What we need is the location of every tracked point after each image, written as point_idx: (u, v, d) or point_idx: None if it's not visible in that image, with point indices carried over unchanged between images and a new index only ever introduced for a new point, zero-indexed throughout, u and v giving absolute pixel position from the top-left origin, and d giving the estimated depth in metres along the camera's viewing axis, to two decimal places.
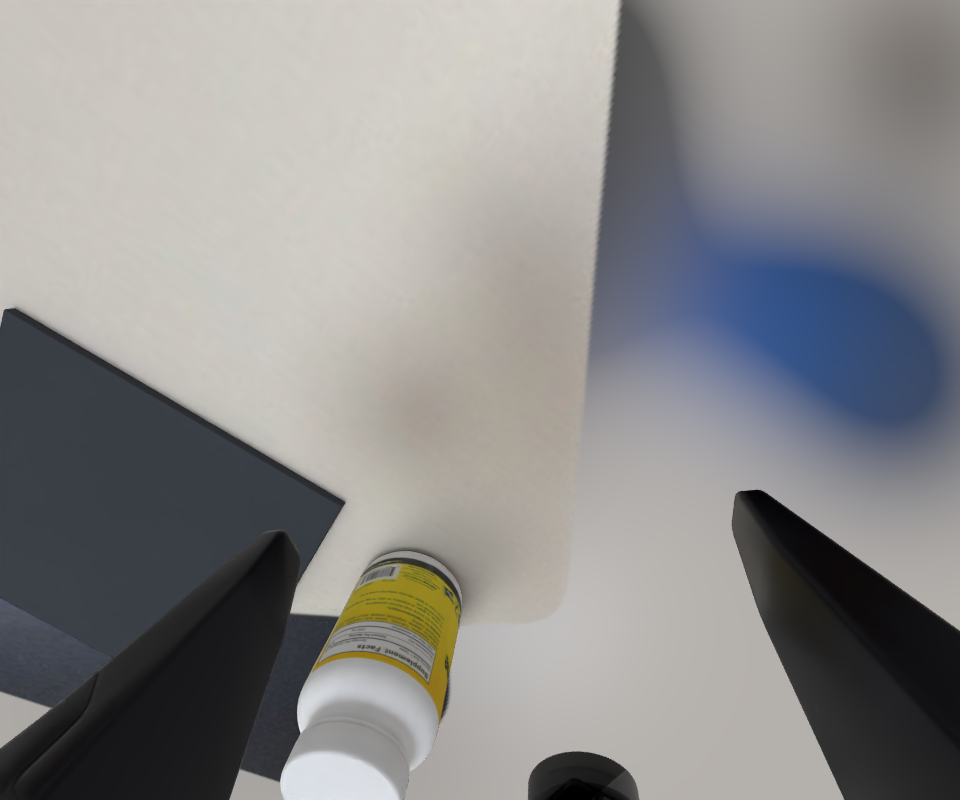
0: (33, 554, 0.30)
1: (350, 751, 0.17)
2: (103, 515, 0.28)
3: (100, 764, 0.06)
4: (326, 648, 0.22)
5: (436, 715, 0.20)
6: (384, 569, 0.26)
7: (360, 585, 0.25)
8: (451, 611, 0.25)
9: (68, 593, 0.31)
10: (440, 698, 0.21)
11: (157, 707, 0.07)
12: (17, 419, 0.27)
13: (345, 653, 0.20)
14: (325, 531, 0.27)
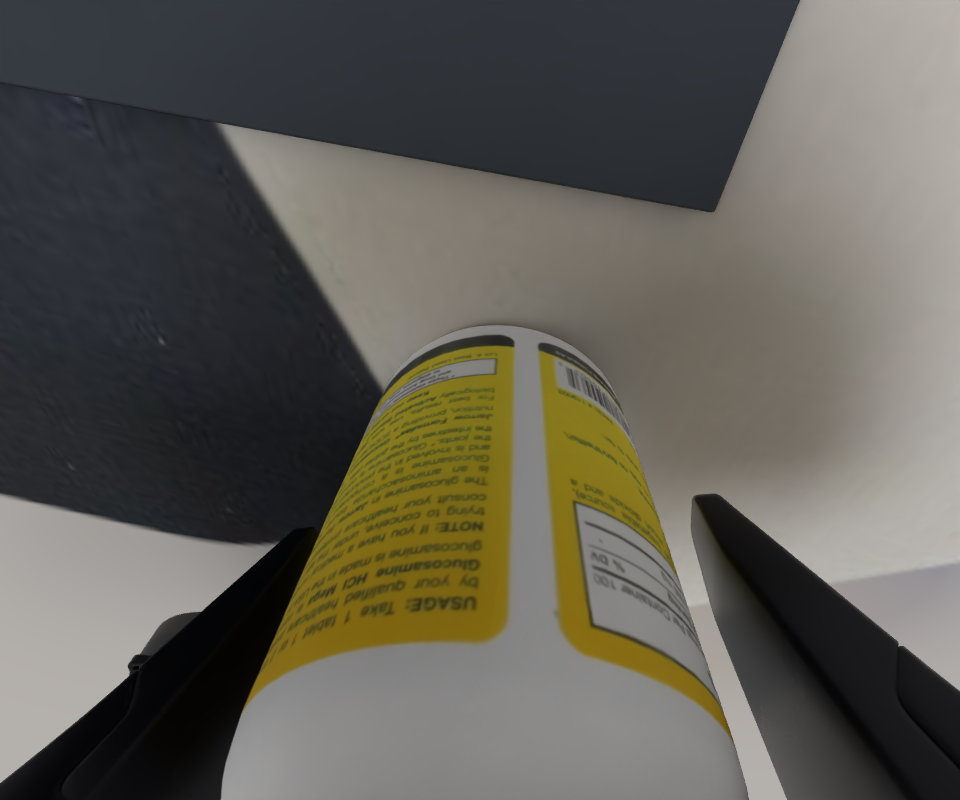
0: None
1: None
2: None
3: (146, 764, 0.06)
4: (586, 559, 0.05)
5: None
6: (615, 408, 0.10)
7: (573, 388, 0.09)
8: None
9: None
10: None
11: (197, 706, 0.07)
12: None
13: (704, 689, 0.05)
14: (612, 189, 0.09)
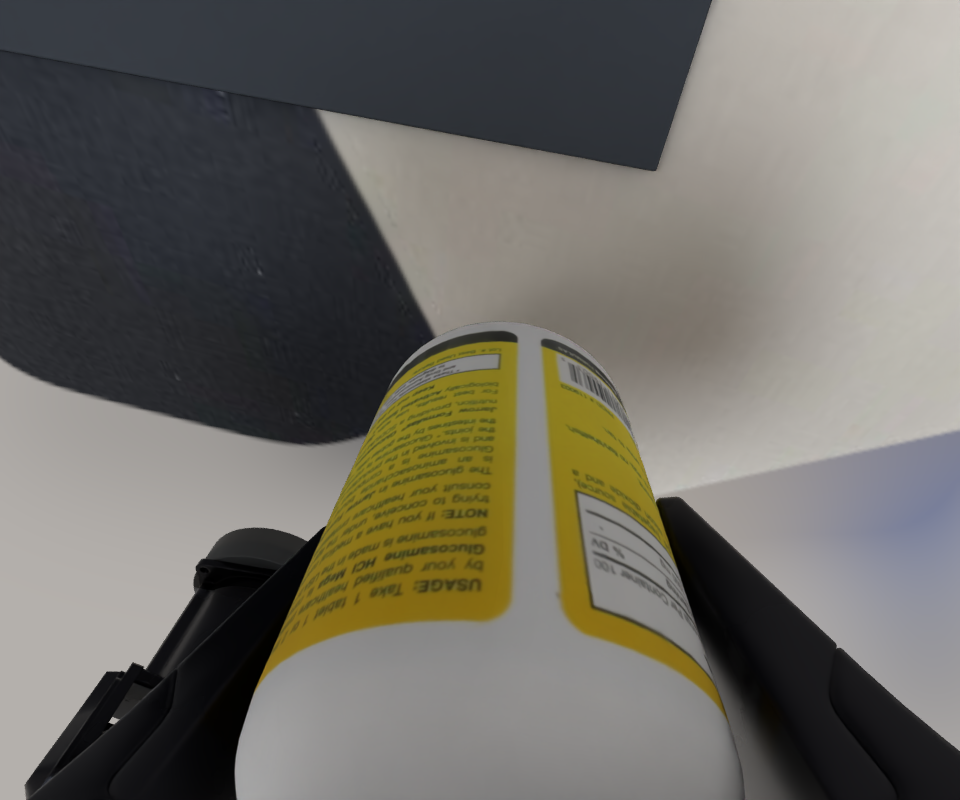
0: None
1: None
2: None
3: (191, 764, 0.06)
4: (587, 545, 0.06)
5: None
6: (617, 403, 0.10)
7: (575, 382, 0.09)
8: None
9: None
10: None
11: (237, 706, 0.07)
12: None
13: (700, 669, 0.05)
14: (586, 154, 0.13)
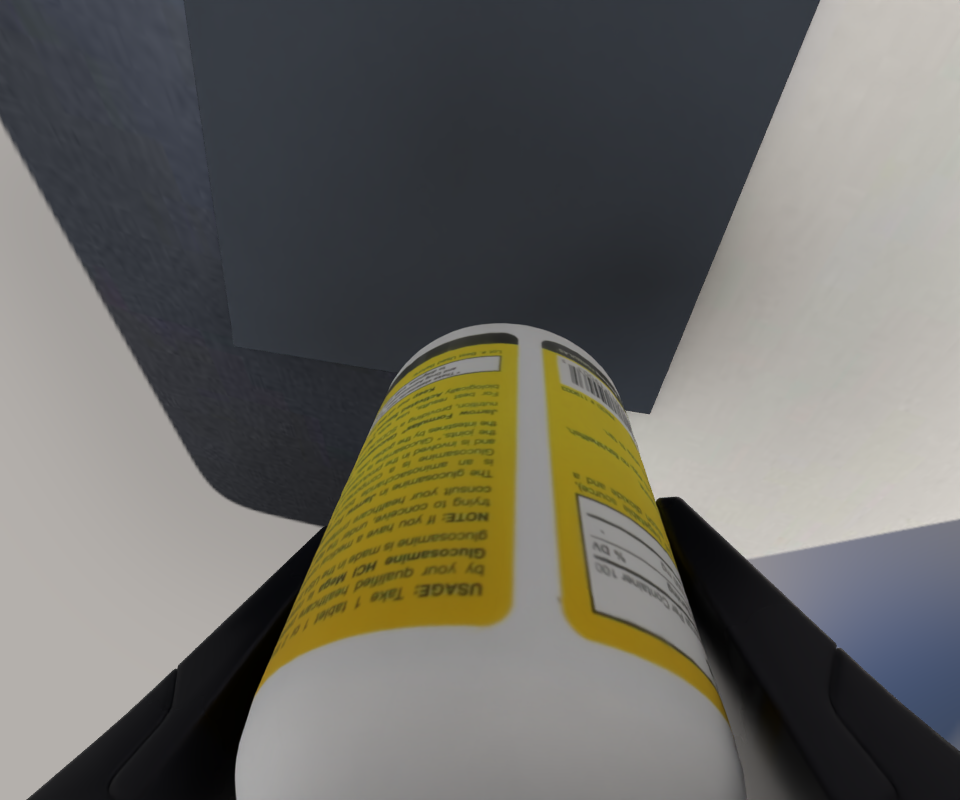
0: None
1: None
2: (505, 92, 0.17)
3: (191, 765, 0.06)
4: (588, 549, 0.06)
5: None
6: (617, 405, 0.10)
7: (575, 384, 0.09)
8: None
9: (292, 42, 0.16)
10: None
11: (236, 706, 0.07)
12: None
13: (701, 674, 0.05)
14: None
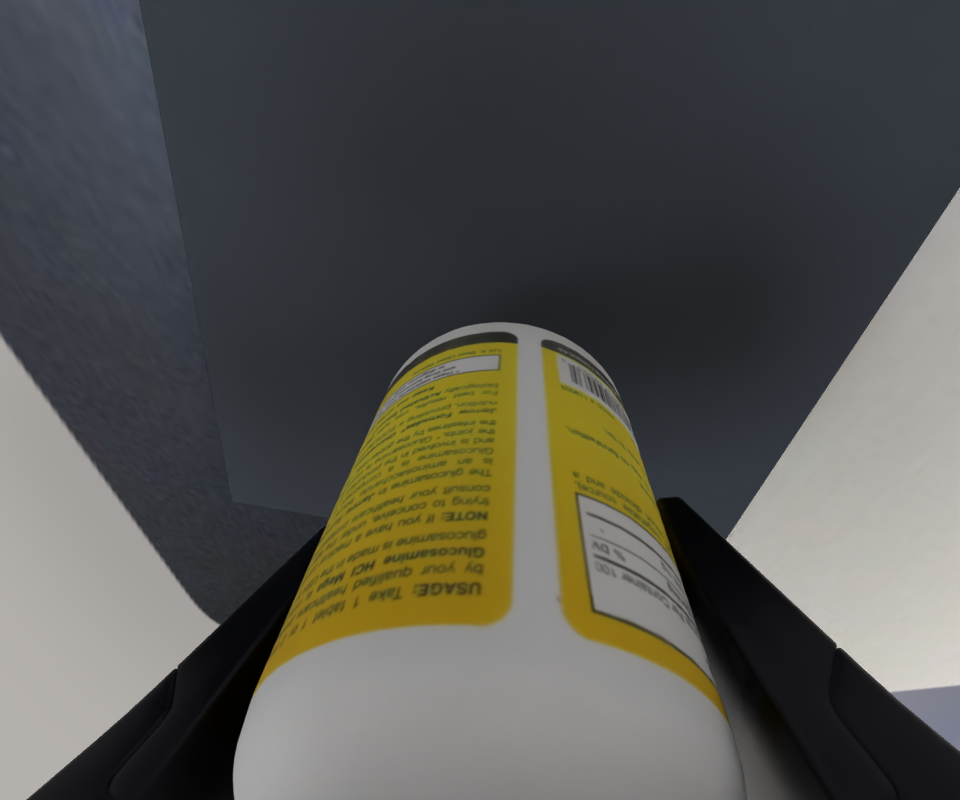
0: (361, 112, 0.12)
1: None
2: (556, 277, 0.14)
3: (191, 765, 0.06)
4: (588, 548, 0.06)
5: None
6: (617, 404, 0.10)
7: (575, 384, 0.09)
8: None
9: (302, 219, 0.13)
10: None
11: (237, 706, 0.07)
12: (768, 30, 0.10)
13: (702, 673, 0.05)
14: None
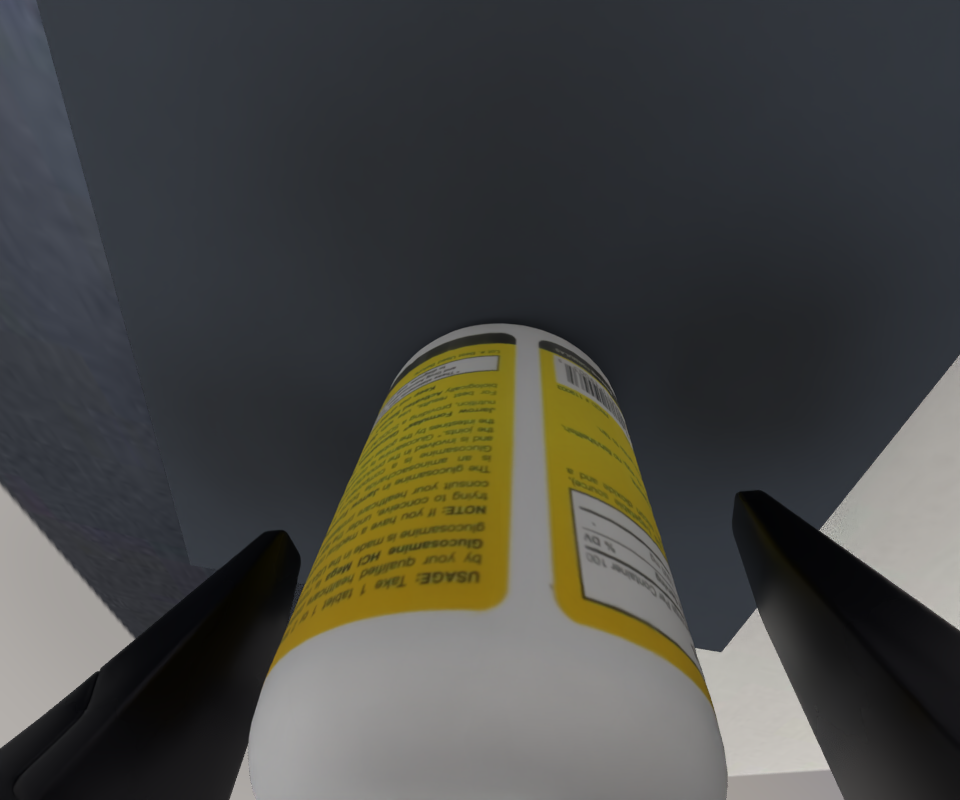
0: (319, 130, 0.10)
1: None
2: (561, 325, 0.11)
3: (100, 764, 0.06)
4: (580, 540, 0.06)
5: None
6: (611, 403, 0.10)
7: (571, 383, 0.09)
8: None
9: (254, 256, 0.11)
10: None
11: (157, 707, 0.07)
12: (835, 27, 0.08)
13: (685, 656, 0.06)
14: None
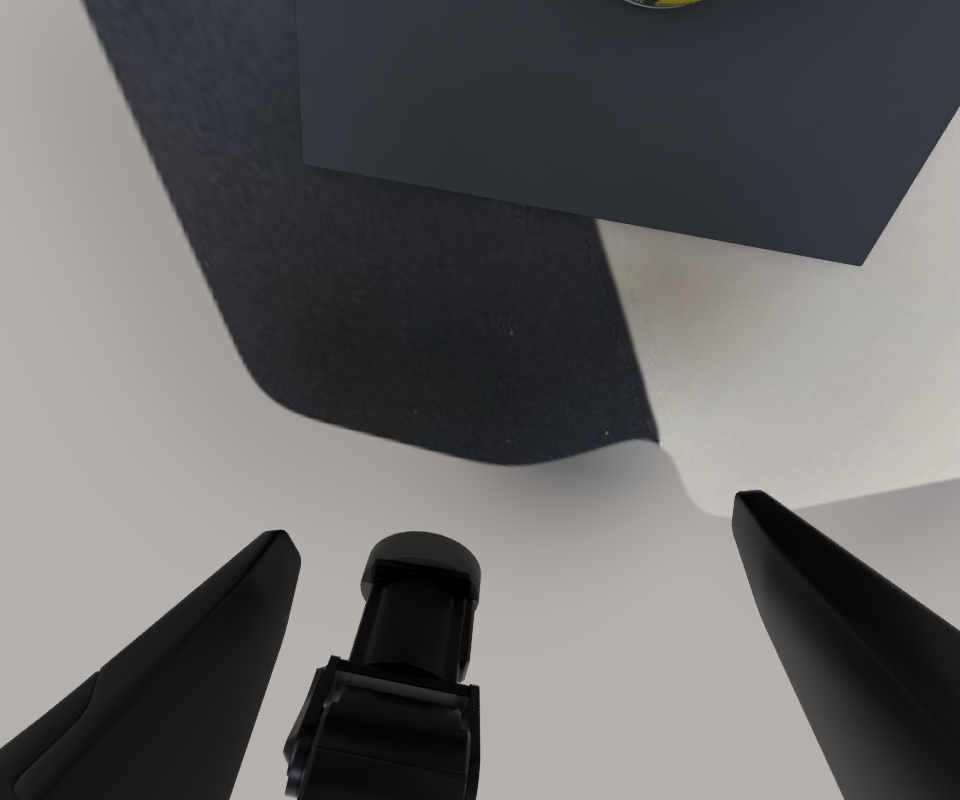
0: None
1: None
2: None
3: (100, 764, 0.06)
4: None
5: None
6: None
7: None
8: None
9: None
10: None
11: (157, 707, 0.07)
12: None
13: None
14: (808, 254, 0.17)
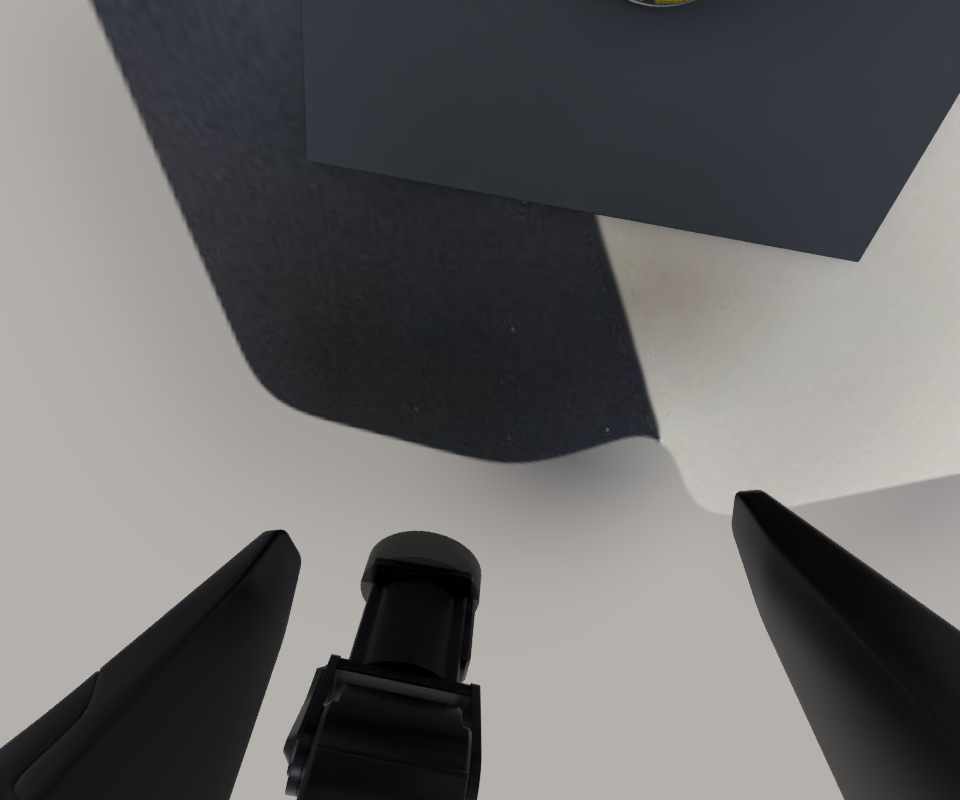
0: None
1: None
2: None
3: (100, 764, 0.06)
4: None
5: None
6: None
7: None
8: None
9: None
10: None
11: (156, 707, 0.07)
12: None
13: None
14: (806, 250, 0.17)
